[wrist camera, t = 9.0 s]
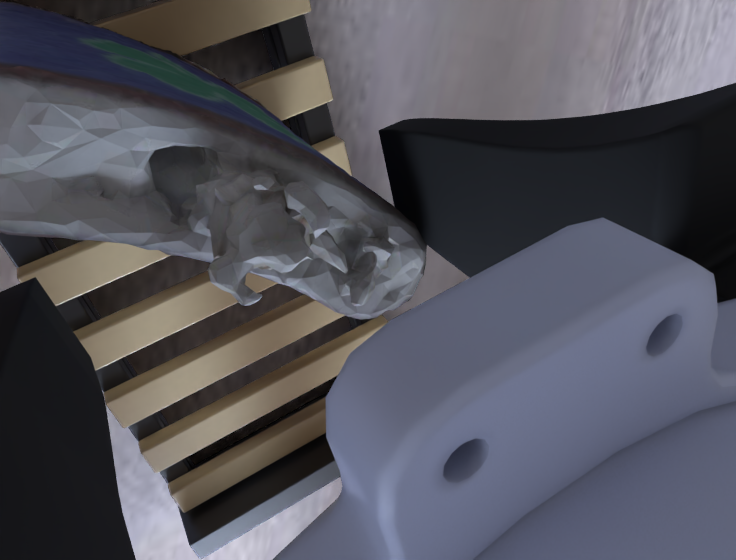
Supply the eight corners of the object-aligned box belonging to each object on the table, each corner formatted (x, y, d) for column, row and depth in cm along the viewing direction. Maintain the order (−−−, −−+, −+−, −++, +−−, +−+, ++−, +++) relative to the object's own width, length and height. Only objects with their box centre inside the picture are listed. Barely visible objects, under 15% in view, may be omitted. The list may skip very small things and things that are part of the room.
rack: (180, 494, 27) (200, 560, 25) (-240, -114, 13) (-308, -125, 10) (389, 376, 31) (429, 423, 28) (229, -217, 16) (278, -248, 14)
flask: (-64, 79, 14) (-151, 275, 6) (-31, -43, 14) (-79, -3, 5) (268, 194, 20) (453, 377, 12) (304, 112, 19) (527, 247, 11)
